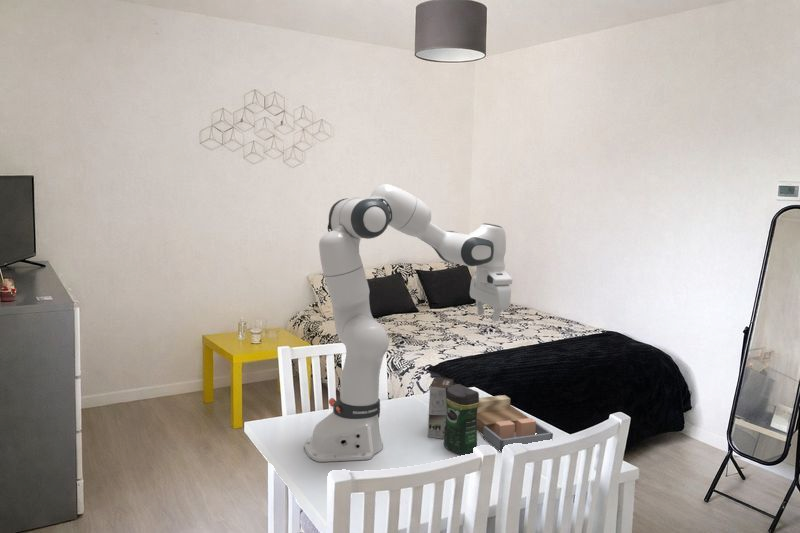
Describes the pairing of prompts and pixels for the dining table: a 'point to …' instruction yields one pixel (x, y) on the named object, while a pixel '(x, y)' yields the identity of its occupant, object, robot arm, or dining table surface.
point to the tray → (516, 437)
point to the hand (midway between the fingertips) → (487, 317)
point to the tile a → (505, 429)
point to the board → (498, 418)
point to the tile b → (525, 427)
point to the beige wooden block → (493, 403)
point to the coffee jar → (461, 419)
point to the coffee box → (438, 407)
